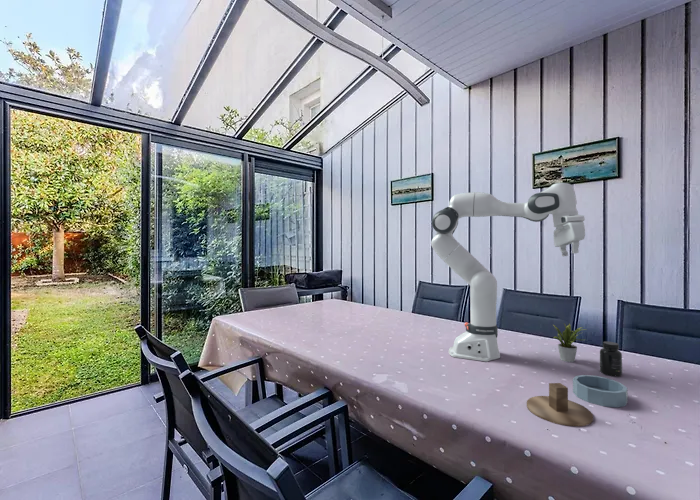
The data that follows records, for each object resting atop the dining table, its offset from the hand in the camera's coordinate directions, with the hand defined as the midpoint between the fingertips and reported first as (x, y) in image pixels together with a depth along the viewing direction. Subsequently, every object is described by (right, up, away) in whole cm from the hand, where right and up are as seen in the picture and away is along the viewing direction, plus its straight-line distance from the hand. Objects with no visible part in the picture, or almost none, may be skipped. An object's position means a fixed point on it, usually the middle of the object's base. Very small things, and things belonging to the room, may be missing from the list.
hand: (570, 254), depth 135 cm
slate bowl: (-7, -47, -25) cm, 53 cm away
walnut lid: (-26, -47, -34) cm, 64 cm away
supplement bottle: (+12, -46, -5) cm, 48 cm away
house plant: (+6, -46, +9) cm, 48 cm away
